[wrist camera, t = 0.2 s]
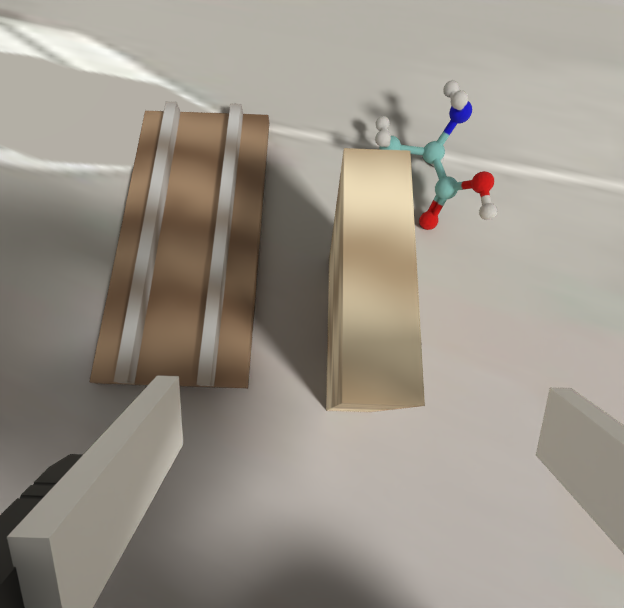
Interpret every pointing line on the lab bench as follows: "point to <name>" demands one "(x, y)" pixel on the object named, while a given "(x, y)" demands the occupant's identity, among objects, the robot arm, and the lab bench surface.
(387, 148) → the molecular model
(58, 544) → the robot arm
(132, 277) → the track board
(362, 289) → the door panel
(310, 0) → the lab bench surface
